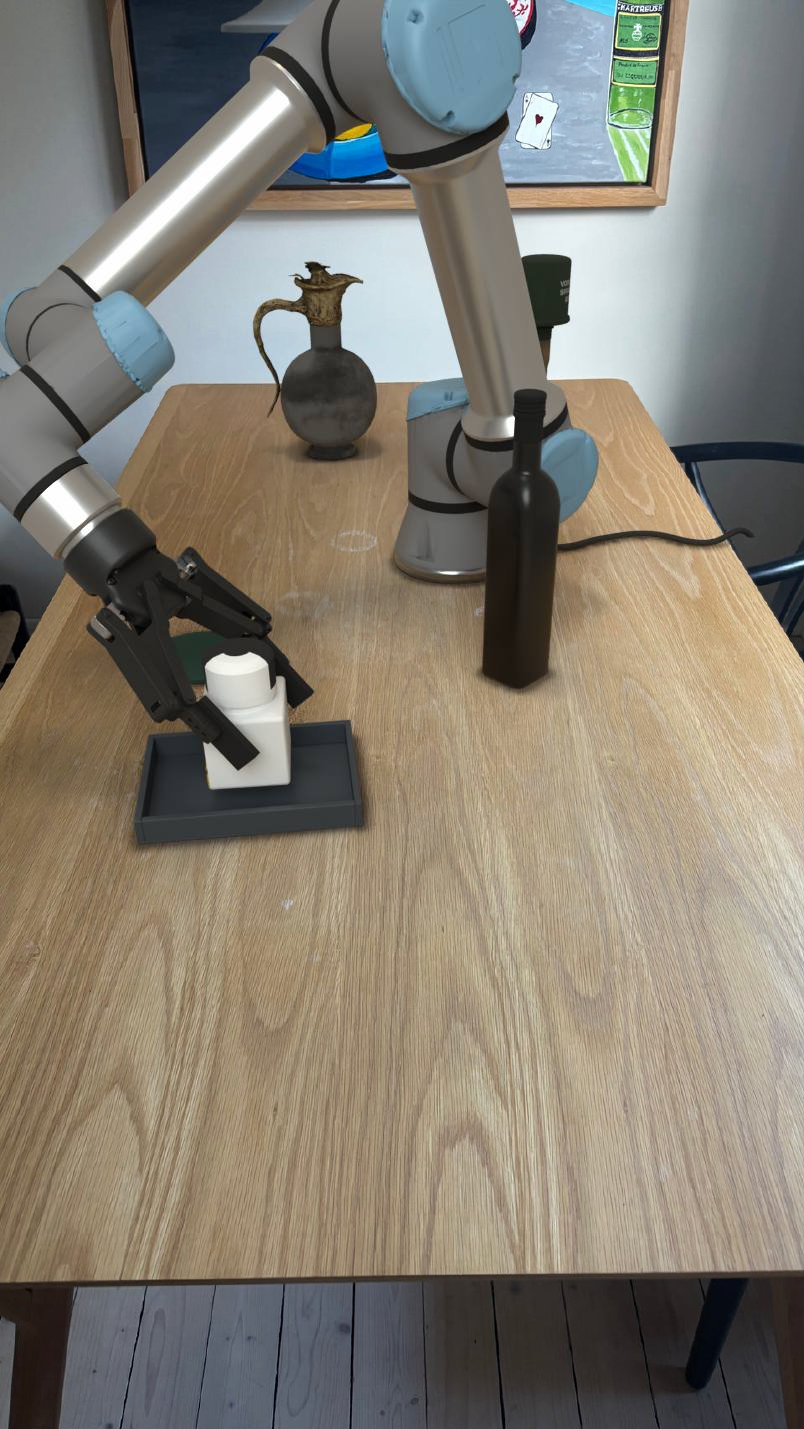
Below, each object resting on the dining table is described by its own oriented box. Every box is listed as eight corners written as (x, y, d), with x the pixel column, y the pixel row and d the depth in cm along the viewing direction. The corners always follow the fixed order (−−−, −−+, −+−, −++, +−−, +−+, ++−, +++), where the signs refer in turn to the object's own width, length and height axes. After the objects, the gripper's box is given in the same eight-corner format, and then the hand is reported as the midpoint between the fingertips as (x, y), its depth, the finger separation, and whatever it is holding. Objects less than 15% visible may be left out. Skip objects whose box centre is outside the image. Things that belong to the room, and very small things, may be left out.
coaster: (249, 632, 119) (249, 628, 119) (248, 680, 110) (248, 676, 110) (153, 638, 118) (152, 634, 118) (144, 687, 109) (143, 683, 109)
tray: (351, 740, 100) (350, 719, 99) (362, 825, 89) (361, 803, 88) (151, 755, 98) (148, 734, 97) (138, 844, 87) (133, 821, 86)
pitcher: (381, 461, 168) (376, 264, 151) (264, 467, 166) (246, 268, 150) (375, 440, 177) (370, 252, 160) (264, 446, 175) (247, 256, 159)
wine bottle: (511, 655, 114) (526, 380, 97) (552, 673, 110) (574, 392, 94) (477, 673, 110) (486, 392, 94) (517, 693, 107) (534, 405, 91)
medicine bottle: (214, 744, 95) (197, 630, 88) (291, 739, 96) (280, 626, 89) (208, 791, 89) (190, 673, 83) (290, 786, 90) (279, 668, 83)
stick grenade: (558, 463, 166) (572, 263, 150) (504, 460, 168) (513, 262, 151) (561, 446, 173) (576, 253, 157) (510, 443, 175) (520, 252, 158)
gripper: (146, 512, 96) (309, 687, 100) (-17, 615, 79) (186, 822, 83) (187, 464, 91) (357, 649, 95) (23, 562, 74) (237, 784, 78)
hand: (277, 729), depth 89 cm, fingers closed on medicine bottle, 9 cm apart
